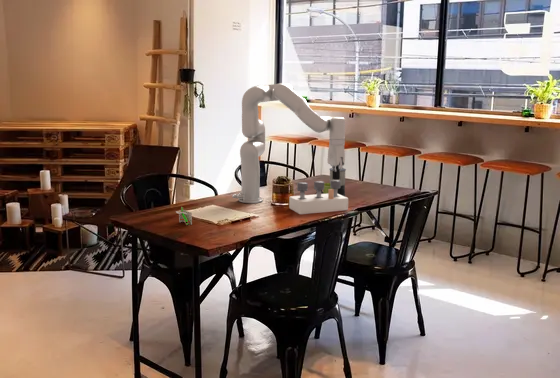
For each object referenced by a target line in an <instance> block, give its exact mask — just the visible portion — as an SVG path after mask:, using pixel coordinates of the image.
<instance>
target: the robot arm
mask: <svg viewBox="0 0 560 378" xmlns="http://www.w3.org/2000/svg"><path fill="white" fill-rule="evenodd" d="M275 101H277V102H278V101H279V102H280V103H281V104H283V105H284V106H285V107H286V108H288V109H289V110H290V111H291V112H293V113H294V114H295V115H296V117H298V118H299V120H300V121H302V123H303V124H305V125H306V126H307V127H308V128H309V129H311V130H312V131H314V132H315V133H318V134H319V133H324V132H326V131H327V132H328V131H329V134H328V136H329V140H328V141H329V142H328V143H329V145H328V149H327V150H328V151H327V165H329V166H330V167H331V168H332V171H333V179H334V180H335V179H340V170H341V169H342V168H344V167H343V166H344V165H345V160H346V159H345V157H346V156H345V155H346V153H345V142H346V141H345V140H346V139H345V138H346V118H344V117H342V116H326V115H319V114H318V113H317V112H315V111H314V110H313V109H312V108H311V107H310V106H309V103H308V102H307V100H306V98H304V97H303V96H301V95H300V94H299V93H298V92H296V91H295V89H294V87H293V85H292V84H291V83H289V82H280V83H274V84H264V85H263V84H262V85H261V84H259V85H255V86H251V87H250V88H248V89H247V90H246V91H245V92H244V94H243V95H242V99H241V132H242V134H243V137H244V138H245V137H246V138H247V141H245V142H243V143H242V144H241V146H240V149H239V156H240V165H241V168H240V172H241V177H240V178H241V180H240V181H241V187H240V188H241V191H239V193H237V194H236V193H234V194H232V196H231V197H232V199H238V200H237V201H238V202H239V203H243V204H257V203H261V202H263V200H264V199H263V197H260V194H261V193H260V191H261V189H260V187H261V183H260V178H261V177H260V174H261V172H260V171H261V168H260V165H261V164H260V159H259V158H260V157H261V156H263V155H264V153H265V151H266V127H265V124H264V122H263V120H261V119H260V118H259V113H260V112H259V106H258V105H259V103H266V102H267V103H268V102H275Z"/></svg>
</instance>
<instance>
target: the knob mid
mask: <svg viewBox="0 0 560 378" xmlns="http://www.w3.org/2000/svg"><path fill="white" fill-rule="evenodd" d="M324 183H325V181H323V180H316V181H315V180H314V181H313V189H314V190H315V191H316V190H317V191H316V194H317V198H321V194H322V193H321V190H322V191H323V190H324Z"/></svg>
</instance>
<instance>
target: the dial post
mask: <svg viewBox="0 0 560 378" xmlns="http://www.w3.org/2000/svg"><path fill="white" fill-rule="evenodd" d="M328 199H334V189H328Z"/></svg>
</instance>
